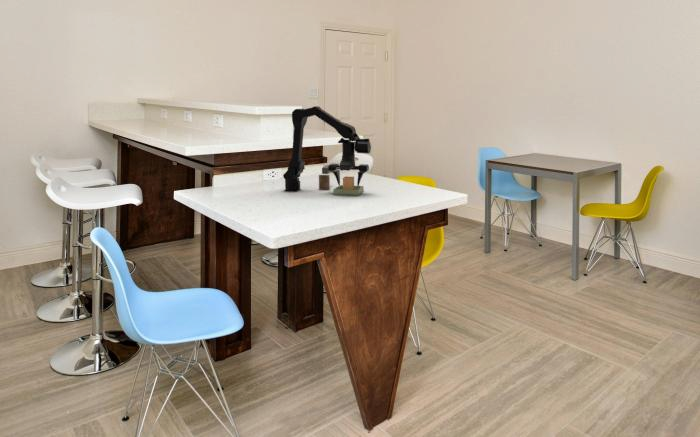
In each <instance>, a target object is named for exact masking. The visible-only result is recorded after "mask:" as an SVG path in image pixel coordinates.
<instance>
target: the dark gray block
mask: <svg viewBox="0 0 700 437" xmlns="http://www.w3.org/2000/svg"><path fill="white" fill-rule="evenodd" d="M329 165H330V164H327V165H325V166H322V167H321V175H330V173H331V171H328V166H329ZM331 174H332V173H331Z"/></svg>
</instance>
